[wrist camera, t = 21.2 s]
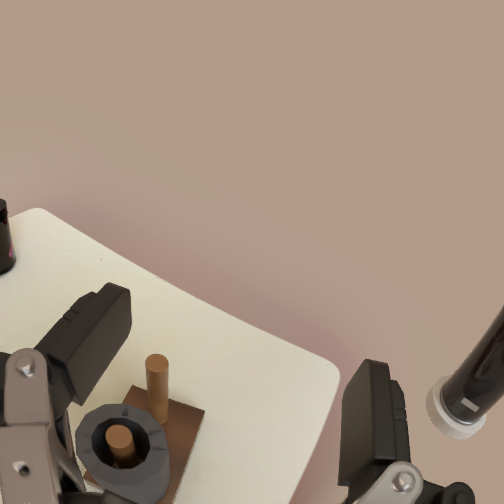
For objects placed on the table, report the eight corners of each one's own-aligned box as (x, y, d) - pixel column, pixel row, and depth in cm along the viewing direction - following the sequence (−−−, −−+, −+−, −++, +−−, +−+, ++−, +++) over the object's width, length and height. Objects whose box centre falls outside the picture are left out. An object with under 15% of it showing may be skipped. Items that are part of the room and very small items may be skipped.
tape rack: (133, 391, 31) (125, 325, 25) (204, 417, 30) (215, 355, 25) (86, 482, 20) (51, 437, 15) (168, 517, 20) (164, 491, 14)
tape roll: (178, 460, 24) (179, 423, 20) (156, 518, 18) (148, 499, 14) (113, 435, 24) (99, 391, 20) (86, 488, 19) (60, 457, 15)
